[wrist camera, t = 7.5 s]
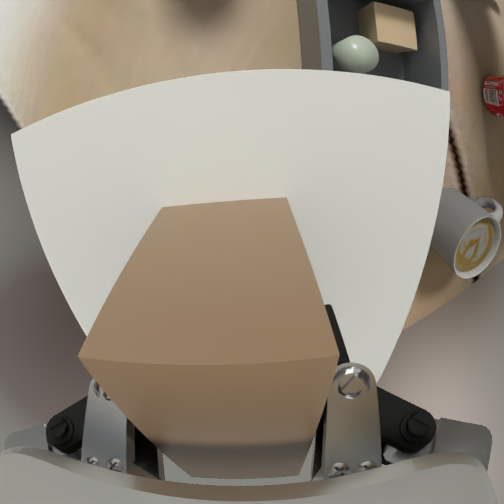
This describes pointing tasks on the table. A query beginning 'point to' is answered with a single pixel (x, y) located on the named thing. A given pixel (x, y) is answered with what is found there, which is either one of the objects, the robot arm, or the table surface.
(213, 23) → the table surface
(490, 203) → the coffee mug
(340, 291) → the lid
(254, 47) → the table surface
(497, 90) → the soda can
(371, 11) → the storage box
